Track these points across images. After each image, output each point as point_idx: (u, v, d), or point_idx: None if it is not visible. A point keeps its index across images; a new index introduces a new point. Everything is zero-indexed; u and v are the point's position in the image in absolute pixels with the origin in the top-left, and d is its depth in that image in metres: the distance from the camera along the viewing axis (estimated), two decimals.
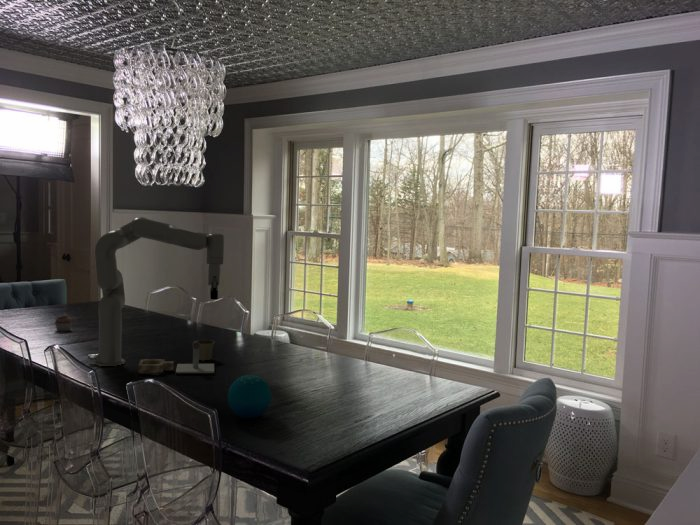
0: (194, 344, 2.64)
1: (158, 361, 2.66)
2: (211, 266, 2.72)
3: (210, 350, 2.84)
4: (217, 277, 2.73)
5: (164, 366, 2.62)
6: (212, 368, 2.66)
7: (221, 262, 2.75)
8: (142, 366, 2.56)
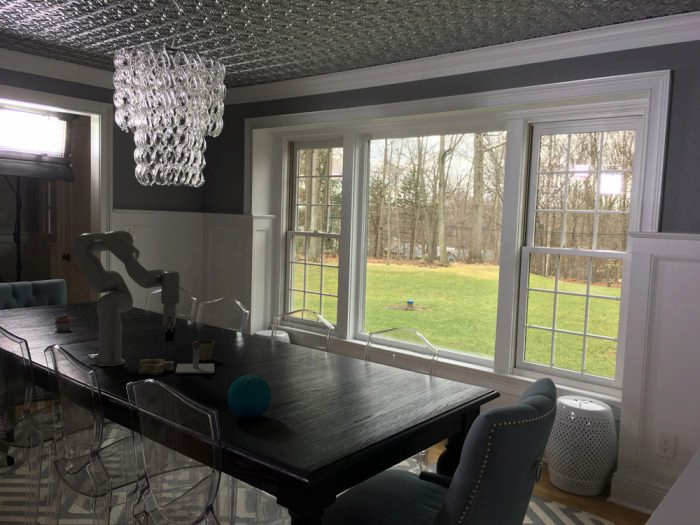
0: (194, 344, 2.64)
1: (158, 361, 2.66)
2: (165, 306, 2.56)
3: (210, 350, 2.84)
4: (172, 318, 2.57)
5: (164, 366, 2.62)
6: (212, 368, 2.66)
7: (176, 301, 2.59)
8: (142, 366, 2.56)
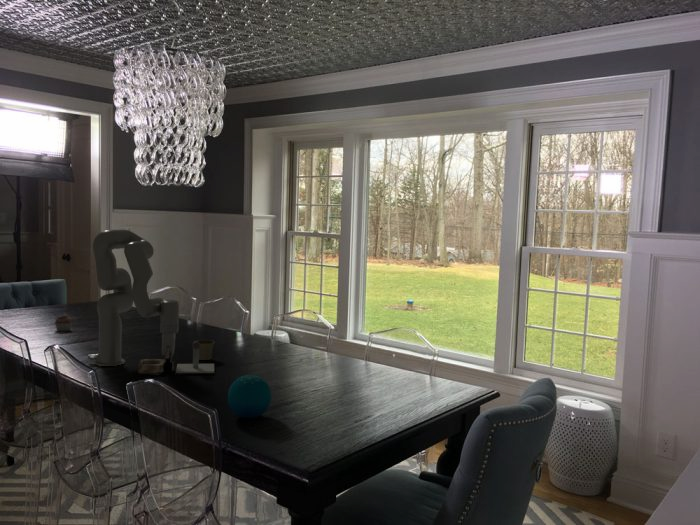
0: (194, 344, 2.64)
1: (158, 361, 2.66)
2: (164, 335, 2.58)
3: (210, 350, 2.84)
4: (171, 347, 2.58)
5: None
6: (212, 368, 2.66)
7: (175, 330, 2.60)
8: (142, 366, 2.56)
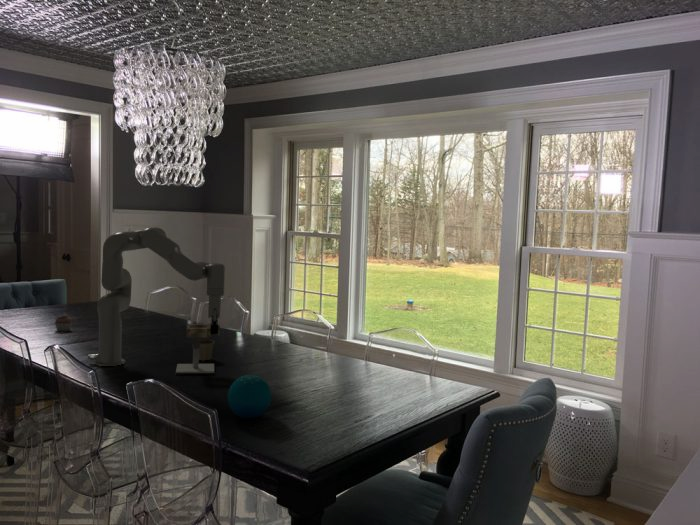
0: (194, 344, 2.64)
1: (204, 325, 2.69)
2: (211, 298, 2.60)
3: (210, 350, 2.84)
4: (217, 309, 2.61)
5: None
6: (212, 368, 2.66)
7: (222, 293, 2.63)
8: (190, 329, 2.59)
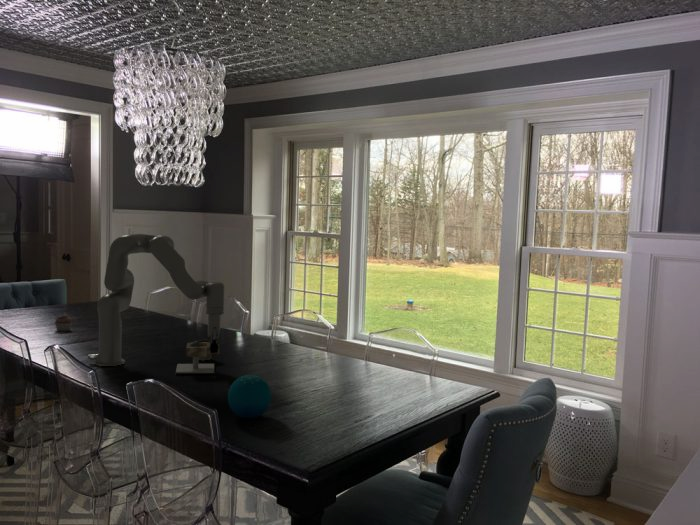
0: (194, 344, 2.64)
1: (204, 344, 2.70)
2: (211, 317, 2.61)
3: None
4: (217, 328, 2.62)
5: None
6: (212, 368, 2.66)
7: (221, 312, 2.64)
8: (190, 348, 2.60)
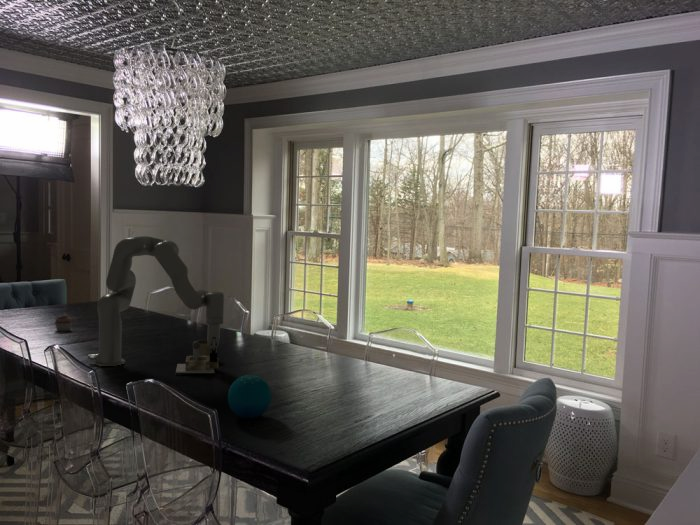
0: (194, 344, 2.64)
1: (203, 357, 2.70)
2: (210, 326, 2.62)
3: None
4: (216, 338, 2.62)
5: (210, 362, 2.66)
6: (212, 368, 2.66)
7: (221, 322, 2.64)
8: (189, 362, 2.60)
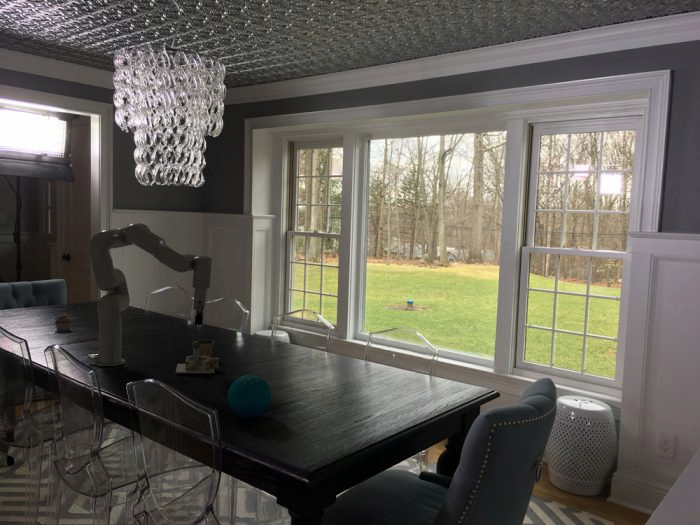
0: (194, 344, 2.64)
1: (203, 357, 2.70)
2: (197, 290, 2.62)
3: (210, 350, 2.84)
4: (202, 302, 2.63)
5: (210, 362, 2.66)
6: (212, 368, 2.66)
7: (207, 286, 2.65)
8: (189, 362, 2.60)
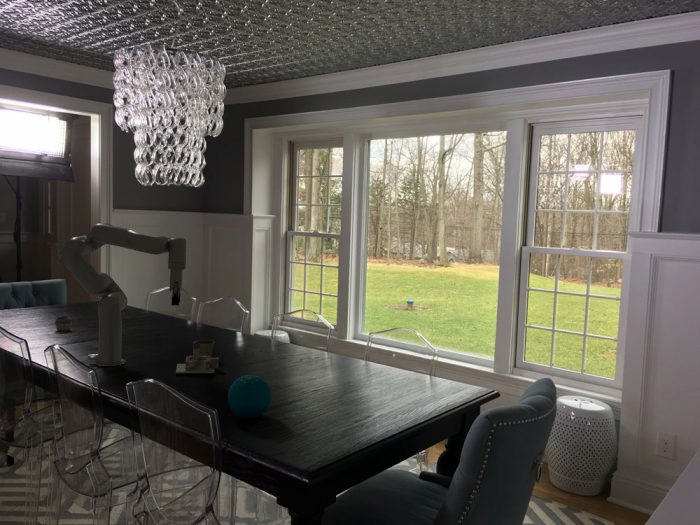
0: (194, 344, 2.64)
1: (203, 357, 2.70)
2: (172, 271, 2.65)
3: (210, 350, 2.84)
4: (178, 282, 2.66)
5: (210, 362, 2.66)
6: (212, 368, 2.66)
7: (183, 267, 2.68)
8: (189, 362, 2.60)
